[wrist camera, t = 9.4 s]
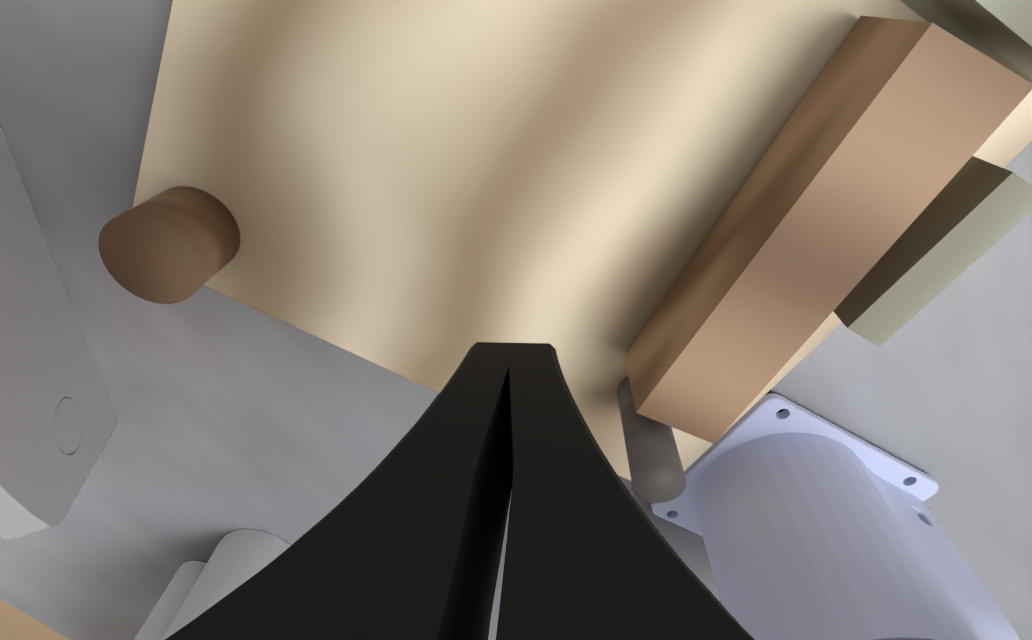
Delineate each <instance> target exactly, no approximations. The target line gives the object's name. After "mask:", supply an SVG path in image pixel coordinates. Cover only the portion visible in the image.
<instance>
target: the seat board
mask: <svg viewBox="0 0 1032 640" xmlns="http://www.w3.org/2000/svg"><path fill="white" fill-rule="evenodd" d="M860 16H871V17H881V18H891V19H901V20H911V21H921V22H930V23H934V24H935V25H937V26H939V27H940V28H942V29H944V30H945V31H947V32H949V33H950V34H952V35H953V36H955V37H957V38H958V39H960V40H962V41H963V42H965V43H967V44H968V45H970V46H972V47H973V48H975V49H976V50H978V51H980V52H981V53H983V54H985V55H986V56H988V57H990V58H991V59H993V60H994V61H996V62H998V63H999V64H1001V65H1003V66H1004V67H1006V68H1008V69H1009V70H1011V71H1012V72H1014V73H1016V74H1017V75H1019V76H1021V77H1022V78H1024V79H1026V80H1027V81H1029V82H1030V83H1032V0H173V2H172V7H171V12H170V17H169V23H168V28H167V33H166V38H165V43H164V48H163V53H162V58H161V63H160V69H159V74H158V79H157V84H156V89H155V94H154V99H153V104H152V109H151V114H150V120H149V125H148V130H147V135H146V140H145V145H144V150H143V155H142V160H141V165H140V171H139V176H138V181H137V186H136V191H135V196H134V201H133V206H132V209H130V210H128V211H126V212H125V213H123V214H121V215H119V216H117V217H115V218H114V219H112V220H110V221H109V222H108V223H107V224H106V225H105V226H104V227H103V229H102V231H101V233H100V236H99V251H100V255H101V258H102V261H103V263H104V265H105V267H106V268H107V270H108V271H109V273H110V274H111V275H112V276H113V278H114V279H115V280H116V281H117V282H118V283H119V284H120V285H122V286H123V287H124V288H125V289H127V290H128V291H129V292H131V293H133V294H134V295H136V296H138V297H140V298H143V299H145V300H148V301H151V302H155V303H161V304H172V303H178V302H181V301H183V300H185V299H187V298H188V297H190V296H191V295H192V294H193V293H194V292H196V291H197V290H198V289H199V288H200V287H201V286H202V285H205V286H207V287H210V288H212V289H214V290H216V291H218V292H221V293H223V294H225V295H227V296H229V297H231V298H234V299H236V300H238V301H240V302H242V303H244V304H247V305H249V306H251V307H253V308H255V309H258V310H260V311H262V312H264V313H266V314H268V315H271V316H273V317H275V318H277V319H279V320H282V321H284V322H286V323H288V324H290V325H292V326H295V327H297V328H299V329H301V330H303V331H305V332H308V333H310V334H312V335H314V336H316V337H319V338H321V339H323V340H325V341H327V342H329V343H332V344H334V345H336V346H338V347H340V348H342V349H345V350H347V351H349V352H351V353H353V354H356V355H358V356H360V357H362V358H364V359H366V360H369V361H371V362H373V363H375V364H377V365H380V366H382V367H384V368H386V369H388V370H390V371H393V372H395V373H397V374H399V375H401V376H403V377H406V378H408V379H410V380H412V381H414V382H417V383H419V384H421V385H423V386H425V387H427V388H430V389H432V390H434V391H436V392H438V393H440V392H441V391H442V389H443V388H444V386H445V385H446V384H447V382H448V381H449V380H450V378H451V377H452V375H453V374H454V372H455V371H456V370H457V368H458V367H459V365H460V364H461V362H462V360H463V359H464V357H465V356H466V354H467V352H468V351H469V349H470V348H471V347H472V346H473V345H474V344H475V343H476V342H501V343H550V344H551V345H552V346H553V347H554V348H555V349H556V353H557V357H558V361H559V364H560V367H561V370H562V373H563V375H564V378H565V380H566V383H567V385H568V387H569V390H570V392H571V394H572V396H573V398H574V401H575V403H576V405H577V407H578V409H579V410H580V412H581V414H582V416H583V418H584V420H585V422H586V424H587V425H588V427H589V429H590V431H591V433H592V435H593V436H594V438H595V440H596V442H597V443H598V445H599V447H600V448H601V450H602V452H603V453H604V455H605V456H606V458H607V460H608V461H609V463H610V464H611V466H612V467H613V469H614V471H615V472H616V474H617V475H619V476H621V477H623V478H626V479H628V480H630V481H632V487H633V491H634V493H635V494H636V495H637V496H638V497H639V498H640V499H642V500H644V501H647V502H651V503H664V502H668V501H671V500H673V499H675V498H677V497H679V496H680V495H681V494H682V493H683V492H684V490H685V488H686V478H685V474H684V471H685V470H686V469H688V468H689V467H690V466H691V465H692V464H693V463H694V462H695V461H696V460H697V459H698V458H699V457H700V456H701V455H702V454H703V453H704V452H705V451H706V450H707V449H709V448H710V447H711V446H712V445H713V443H710V442H708V441H705V440H703V439H700V438H698V437H695V436H693V435H690V434H688V433H685V432H683V431H680V430H678V429H675V428H673V427H670V426H668V425H666V424H663V423H661V422H658V421H656V420H653V419H651V418H648V417H646V416H643V415H641V414H638V413H636V410H635V405H634V400H633V396H632V391H631V386H630V381H629V376H628V371H627V366H626V361H625V354H626V353H627V352H628V350H629V349H630V347H631V346H632V344H633V343H634V341H635V340H636V339H637V337H638V336H639V334H640V333H641V331H642V330H643V329H644V327H645V326H646V324H647V323H648V321H649V320H650V318H651V317H652V316H653V314H654V313H655V311H656V310H657V308H658V307H659V306H660V304H661V303H662V301H663V300H664V298H665V297H666V295H667V294H668V293H669V291H670V290H671V288H672V287H673V285H674V284H675V282H676V281H677V280H678V278H679V277H680V275H681V274H682V272H683V271H684V270H685V268H686V267H687V265H688V264H689V262H690V261H691V259H692V258H693V257H694V255H695V254H696V252H697V251H698V249H699V248H700V247H701V245H702V244H703V242H704V241H705V239H706V238H707V236H708V235H709V234H710V232H711V231H712V229H713V228H714V226H715V225H716V223H717V222H718V221H719V219H720V218H721V216H722V215H723V213H724V212H725V211H726V209H727V208H728V206H729V205H730V203H731V202H732V200H733V199H734V198H735V196H736V195H737V193H738V192H739V190H740V189H741V188H742V186H743V185H744V183H745V182H746V180H747V179H748V177H749V176H750V175H751V173H752V172H753V170H754V169H755V167H756V166H757V164H758V163H759V162H760V160H761V159H762V157H763V156H764V154H765V153H766V152H767V150H768V149H769V147H770V146H771V144H772V143H773V141H774V140H775V139H776V137H777V136H778V134H779V133H780V131H781V130H782V129H783V127H784V126H785V124H786V123H787V121H788V120H789V118H790V117H791V116H792V114H793V113H794V111H795V110H796V108H797V107H798V105H799V104H800V103H801V101H802V100H803V98H804V97H805V95H806V94H807V93H808V91H809V90H810V88H811V87H812V85H813V84H814V82H815V81H816V80H817V78H818V77H819V75H820V74H821V72H822V71H823V70H824V68H825V67H826V65H827V64H828V62H829V61H830V59H831V58H832V57H833V55H834V54H835V52H836V51H837V49H838V48H839V46H840V45H841V44H842V42H843V41H844V39H845V38H846V36H847V35H848V34H849V32H850V31H851V29H852V28H853V26H854V25H855V23H856V22H857V21H858V19H859V18H860ZM1031 141H1032V90H1031V91H1030V92H1029V93H1028V94H1027V96H1026V97H1025V98H1024V99H1023V100H1022V101H1021V102H1020V103H1019V105H1018V106H1017V107H1016V108H1015V109H1014V110H1013V111H1012V112H1011V113H1010V115H1009V116H1008V117H1007V118H1006V119H1005V120H1004V121H1003V122H1002V123H1001V125H1000V126H999V127H998V128H997V129H996V130H995V131H994V132H993V134H992V135H991V136H990V137H989V138H988V139H987V140H986V141H985V142H984V144H983V145H982V146H981V147H980V148H979V149H978V150H977V151H976V152H975V154H974V155H973V156H972V157H971V158H970V159H969V160H968V161H967V162H966V164H965V165H964V166H963V167H962V168H961V169H960V170H959V171H958V173H957V174H956V175H955V176H954V177H953V178H952V179H951V180H950V181H949V183H948V184H947V185H946V186H945V187H944V188H943V189H942V190H941V191H940V193H939V194H938V195H937V196H936V197H935V198H934V199H933V200H932V201H931V203H930V204H929V205H928V206H927V207H926V208H925V209H924V210H923V212H922V213H921V214H920V215H919V216H918V217H917V218H916V219H915V220H914V222H913V223H912V224H911V225H910V226H909V227H908V228H907V229H906V230H905V232H904V233H903V234H902V235H901V236H900V237H899V238H898V239H897V240H896V242H895V243H894V244H893V245H892V246H891V247H890V248H889V249H888V251H887V252H886V253H885V254H884V255H883V256H882V257H881V258H880V259H879V261H878V262H877V263H876V264H875V265H874V266H873V267H872V268H871V269H870V271H869V272H868V273H867V274H866V275H865V276H864V277H863V278H862V280H861V281H860V282H859V283H858V284H857V285H856V286H855V287H854V288H853V290H852V291H851V292H850V293H849V294H848V295H847V296H846V297H845V298H844V300H843V301H842V302H841V303H840V304H839V305H838V306H837V307H836V308H835V310H834V311H833V312H832V313H831V314H830V315H829V316H828V317H827V319H826V320H825V321H824V322H823V323H822V324H821V325H820V326H819V327H818V329H817V330H816V331H815V332H814V333H813V334H812V335H811V336H810V337H809V339H808V340H807V341H806V342H805V343H804V344H803V345H802V346H801V347H800V349H799V350H798V351H797V352H796V353H795V354H794V355H793V356H792V358H791V359H790V360H789V361H788V362H787V363H786V364H785V365H784V366H783V368H782V369H781V370H780V371H779V372H778V373H777V374H776V375H775V376H774V378H773V379H772V380H771V381H770V382H769V383H768V384H767V385H766V386H765V388H764V389H763V390H762V391H761V392H760V393H759V394H758V395H757V397H756V398H755V399H754V400H753V401H752V402H751V403H750V404H749V405H748V407H747V408H746V409H745V410H744V411H743V412H742V413H741V414H740V415H739V417H738V418H737V419H736V420H735V421H734V422H733V423H732V424H731V426H730V427H729V428H728V429H730V428H731V427H732V426H733V425H734V424H735V423H736V422H737V421H738V420H739V419H740V418H741V417H742V416H743V415H744V414H745V413H746V412H747V411H748V410H749V409H751V408H752V407H753V406H754V405H755V404H756V403H757V402H758V401H759V400H760V399H761V398H762V397H763V396H764V395H765V394H766V393H767V392H768V391H769V390H770V389H772V388H773V387H774V386H775V385H776V384H777V383H778V382H779V381H780V380H781V379H782V378H783V377H784V376H785V375H786V374H787V373H788V372H789V371H790V370H791V369H793V368H794V367H795V366H796V365H797V364H798V363H799V362H800V361H801V360H802V359H803V358H804V357H805V356H806V355H807V354H808V353H809V352H810V351H811V350H813V349H814V348H815V347H816V346H817V345H818V344H819V343H820V342H821V341H822V340H823V339H824V338H825V337H826V336H827V335H828V334H829V333H830V332H831V331H832V330H834V329H835V328H836V327H837V326H838V325H839V324H840V323H841V322H843V323H844V325H845V326H846V327H847V328H848V329H850V330H852V331H853V332H855V333H857V334H858V335H860V336H862V337H864V338H865V339H867V340H869V341H870V342H872V343H874V344H875V345H877V346H881V345H882V344H883V343H884V342H885V341H886V340H887V339H888V338H890V337H891V336H892V335H893V334H894V333H895V332H896V331H897V330H899V329H900V328H901V327H902V326H903V325H904V324H905V323H906V322H908V321H909V320H910V319H911V318H912V317H913V316H914V315H916V314H917V313H918V312H919V311H920V310H921V309H922V308H923V307H925V306H926V305H927V304H928V303H929V302H930V301H931V300H932V299H934V298H935V297H936V296H937V295H938V294H939V293H940V292H941V291H943V290H944V289H945V288H946V287H947V286H948V285H949V284H950V283H952V282H953V281H954V280H955V279H956V278H957V277H958V276H959V275H961V274H962V273H963V272H964V271H965V270H966V269H967V268H968V267H970V266H971V265H972V264H973V263H974V262H975V261H976V260H977V259H979V258H980V257H981V256H982V255H983V254H984V253H985V252H987V251H988V250H989V249H990V248H991V247H992V246H993V245H994V244H996V243H997V242H998V241H999V240H1000V239H1001V238H1002V237H1003V236H1005V235H1006V234H1007V233H1008V232H1009V231H1010V230H1011V229H1012V228H1014V227H1015V226H1016V225H1017V224H1018V223H1019V222H1020V221H1021V220H1023V219H1024V218H1025V217H1026V216H1027V215H1028V214H1029V213H1030V212H1032V186H1031V185H1030V184H1028V183H1027V182H1026V181H1024V180H1023V179H1022V178H1020V177H1019V176H1018V175H1016V174H1015V173H1013V172H1011V171H1009V170H1006V169H1004V167H1005V166H1006V165H1007V164H1008V163H1009V162H1010V161H1011V160H1012V159H1013V158H1014V157H1015V156H1016V155H1017V154H1018V153H1019V152H1020V151H1022V150H1023V149H1024V148H1025V147H1026V146H1027V145H1028V144H1029V143H1030V142H1031ZM728 429H727V430H728ZM727 430H726V431H727ZM726 431H725V432H726ZM725 432H724V433H725ZM724 433H723V434H724ZM723 434H722V435H723Z"/></svg>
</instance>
